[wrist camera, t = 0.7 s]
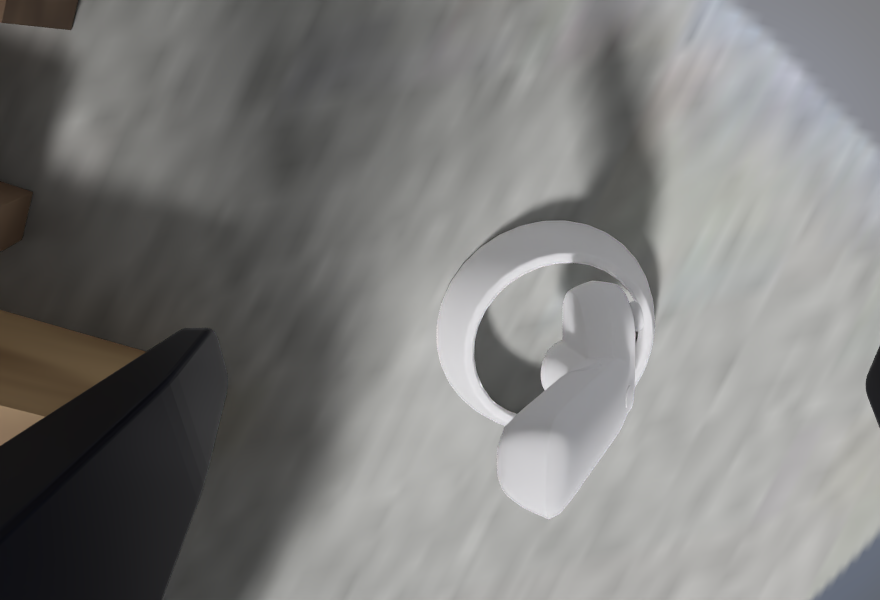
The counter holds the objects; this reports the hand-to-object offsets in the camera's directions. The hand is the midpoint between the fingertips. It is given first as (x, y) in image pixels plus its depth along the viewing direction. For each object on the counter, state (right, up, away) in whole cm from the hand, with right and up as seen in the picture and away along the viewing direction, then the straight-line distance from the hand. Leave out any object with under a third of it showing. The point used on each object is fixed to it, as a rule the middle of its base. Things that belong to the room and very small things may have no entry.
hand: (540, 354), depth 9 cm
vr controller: (+2, 0, +14) cm, 14 cm away
